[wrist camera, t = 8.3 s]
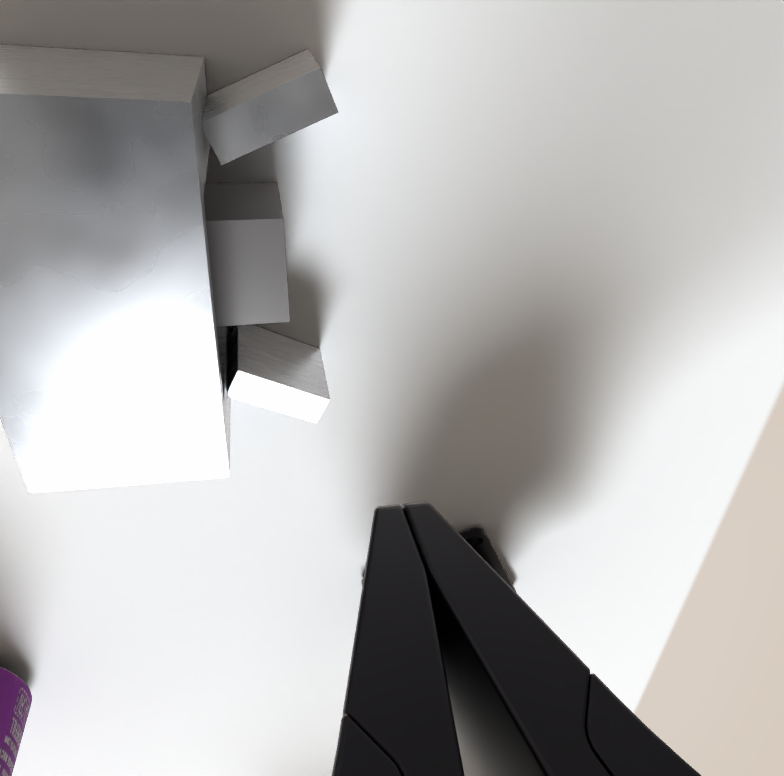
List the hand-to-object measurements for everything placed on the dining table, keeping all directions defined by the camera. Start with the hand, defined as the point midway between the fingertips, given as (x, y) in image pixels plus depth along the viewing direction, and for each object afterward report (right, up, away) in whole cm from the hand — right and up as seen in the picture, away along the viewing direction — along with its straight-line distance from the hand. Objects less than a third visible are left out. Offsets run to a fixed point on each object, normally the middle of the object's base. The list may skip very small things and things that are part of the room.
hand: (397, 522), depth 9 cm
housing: (-6, +7, +9) cm, 13 cm away
